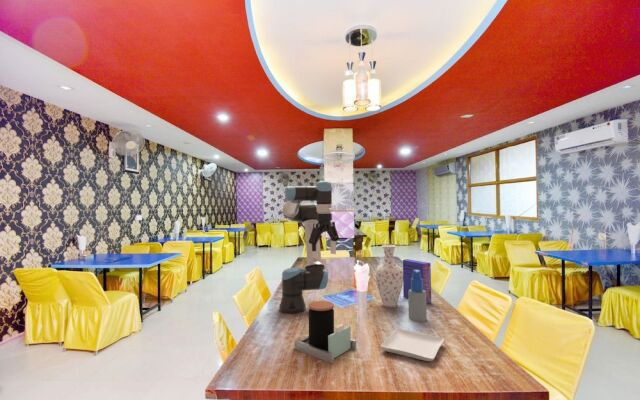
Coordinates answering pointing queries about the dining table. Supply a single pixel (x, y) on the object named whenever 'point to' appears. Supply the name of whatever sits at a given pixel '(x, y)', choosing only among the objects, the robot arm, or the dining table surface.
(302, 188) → the robot arm
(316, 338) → the coffee jar
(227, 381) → the dining table surface
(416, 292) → the spray bottle
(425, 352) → the salad plate
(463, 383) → the dining table surface
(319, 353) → the open-ended rimmed tray
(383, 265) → the vase
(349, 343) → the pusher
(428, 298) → the cereal box
